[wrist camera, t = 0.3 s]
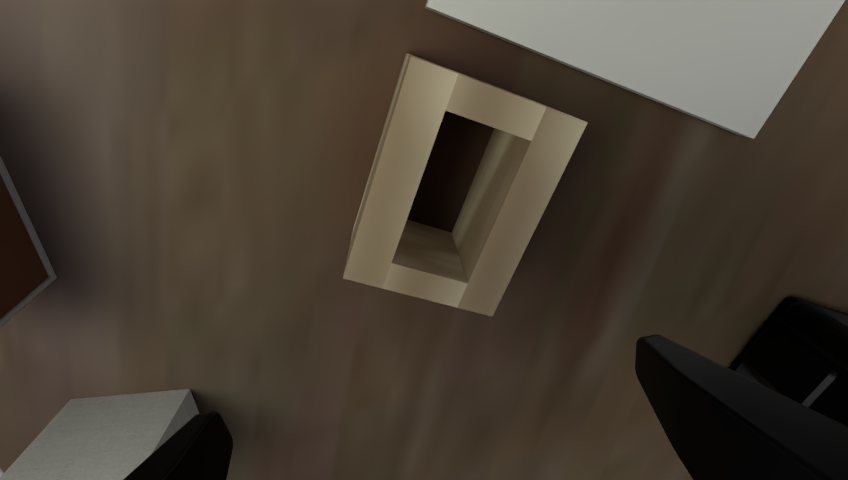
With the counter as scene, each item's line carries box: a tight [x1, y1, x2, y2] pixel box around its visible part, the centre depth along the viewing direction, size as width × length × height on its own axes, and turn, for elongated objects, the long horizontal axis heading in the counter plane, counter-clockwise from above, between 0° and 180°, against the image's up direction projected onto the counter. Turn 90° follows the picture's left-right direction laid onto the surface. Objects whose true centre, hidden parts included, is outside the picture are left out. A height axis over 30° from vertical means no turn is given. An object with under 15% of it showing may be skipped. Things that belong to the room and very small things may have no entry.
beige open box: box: [343, 53, 588, 316], centre depth 18 cm, size 6×8×5 cm
